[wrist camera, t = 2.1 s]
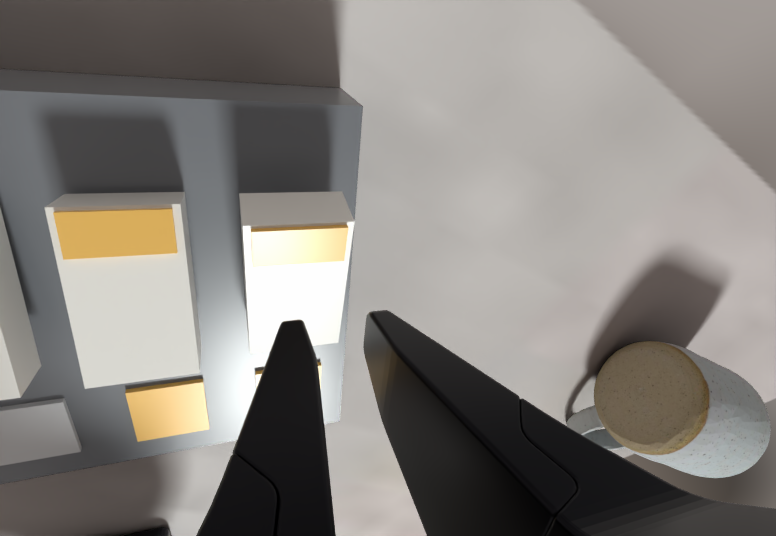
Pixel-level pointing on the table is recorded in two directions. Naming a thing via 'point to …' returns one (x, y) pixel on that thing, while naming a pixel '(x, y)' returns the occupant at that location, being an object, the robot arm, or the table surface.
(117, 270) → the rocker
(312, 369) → the robot arm
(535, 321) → the table surface
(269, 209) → the rocker
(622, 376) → the ceramic mug
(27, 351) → the rocker
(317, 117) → the switch unit
